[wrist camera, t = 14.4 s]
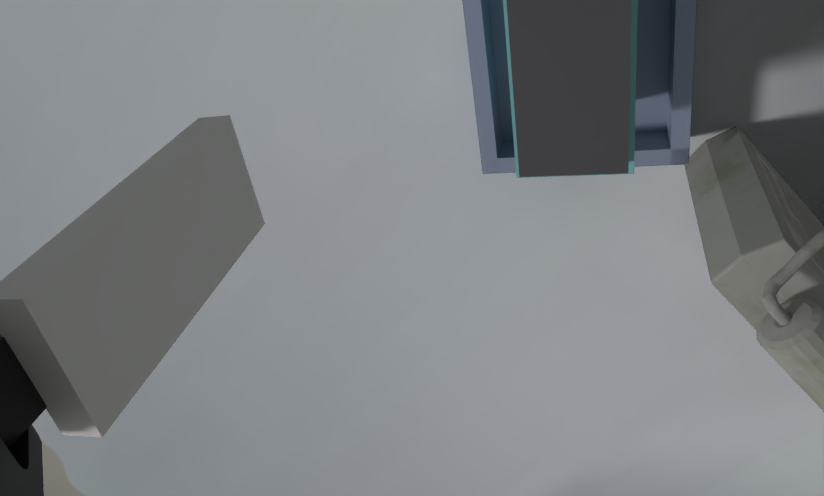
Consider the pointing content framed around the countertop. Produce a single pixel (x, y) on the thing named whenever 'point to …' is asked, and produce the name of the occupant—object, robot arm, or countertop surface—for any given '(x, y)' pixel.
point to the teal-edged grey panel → (572, 85)
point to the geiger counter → (763, 252)
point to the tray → (655, 82)
